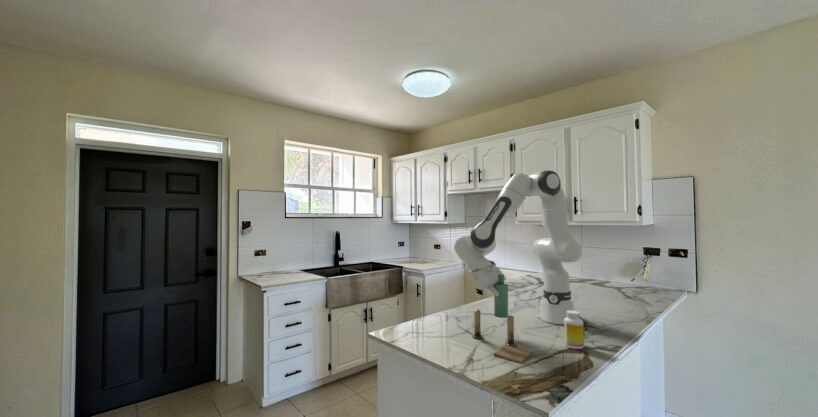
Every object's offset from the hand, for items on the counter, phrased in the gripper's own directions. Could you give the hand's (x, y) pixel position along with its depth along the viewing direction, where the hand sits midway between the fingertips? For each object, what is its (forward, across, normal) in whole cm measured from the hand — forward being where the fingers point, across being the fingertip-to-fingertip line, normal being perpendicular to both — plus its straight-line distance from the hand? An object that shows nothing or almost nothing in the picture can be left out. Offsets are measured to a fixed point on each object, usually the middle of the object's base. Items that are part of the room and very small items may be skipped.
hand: (502, 294), depth 137 cm
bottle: (+6, 0, +7) cm, 9 cm away
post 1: (+7, -8, +17) cm, 20 cm away
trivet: (+20, -16, +5) cm, 26 cm away
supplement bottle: (+30, +6, -6) cm, 31 cm away
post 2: (+17, -8, +7) cm, 20 cm away
